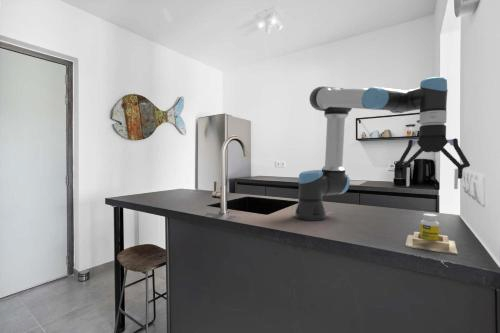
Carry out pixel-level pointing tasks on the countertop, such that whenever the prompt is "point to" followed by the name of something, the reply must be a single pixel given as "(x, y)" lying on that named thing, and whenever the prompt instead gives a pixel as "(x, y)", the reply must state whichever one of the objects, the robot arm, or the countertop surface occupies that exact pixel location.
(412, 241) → the beige square tray
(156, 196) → the countertop surface
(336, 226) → the countertop surface
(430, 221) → the supplement bottle
